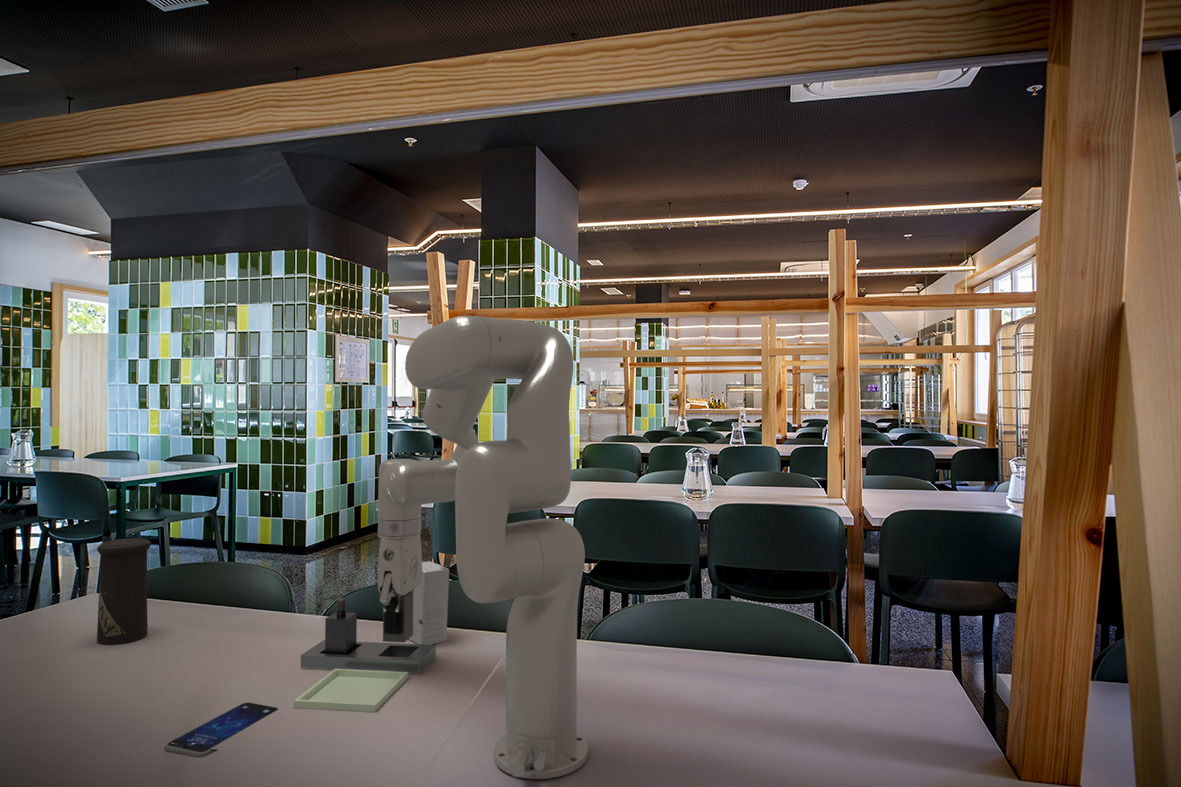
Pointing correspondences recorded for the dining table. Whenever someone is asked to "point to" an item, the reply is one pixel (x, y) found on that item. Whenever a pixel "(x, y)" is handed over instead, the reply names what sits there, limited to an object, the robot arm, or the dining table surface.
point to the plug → (407, 620)
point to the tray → (351, 690)
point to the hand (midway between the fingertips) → (398, 628)
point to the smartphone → (218, 730)
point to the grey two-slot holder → (363, 649)
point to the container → (122, 591)
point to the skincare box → (431, 605)
